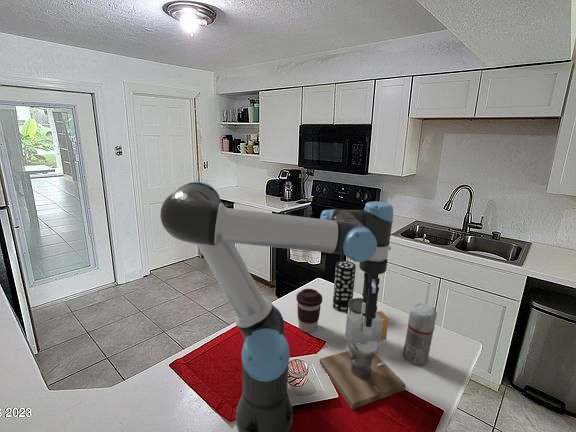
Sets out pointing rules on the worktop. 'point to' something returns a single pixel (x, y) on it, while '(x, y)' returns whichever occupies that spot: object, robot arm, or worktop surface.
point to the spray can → (419, 334)
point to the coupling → (365, 343)
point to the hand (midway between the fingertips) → (365, 327)
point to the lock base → (361, 378)
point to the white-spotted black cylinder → (343, 285)
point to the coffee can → (355, 307)
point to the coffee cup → (308, 309)
